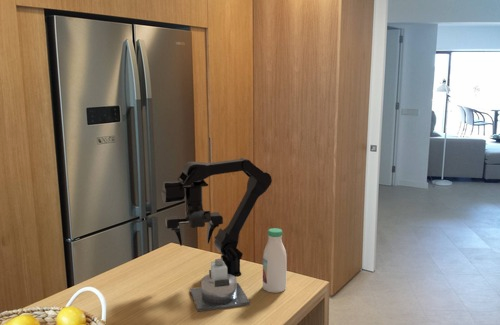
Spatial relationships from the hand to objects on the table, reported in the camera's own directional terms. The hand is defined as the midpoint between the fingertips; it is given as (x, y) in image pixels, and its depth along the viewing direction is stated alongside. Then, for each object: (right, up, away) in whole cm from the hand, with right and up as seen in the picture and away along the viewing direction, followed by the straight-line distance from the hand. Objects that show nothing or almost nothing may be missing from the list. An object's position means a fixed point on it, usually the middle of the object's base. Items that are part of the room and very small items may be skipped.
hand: (194, 244), depth 156 cm
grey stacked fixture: (+9, -15, -12) cm, 21 cm away
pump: (+9, -9, -13) cm, 18 cm away
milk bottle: (+27, -14, -5) cm, 31 cm away
